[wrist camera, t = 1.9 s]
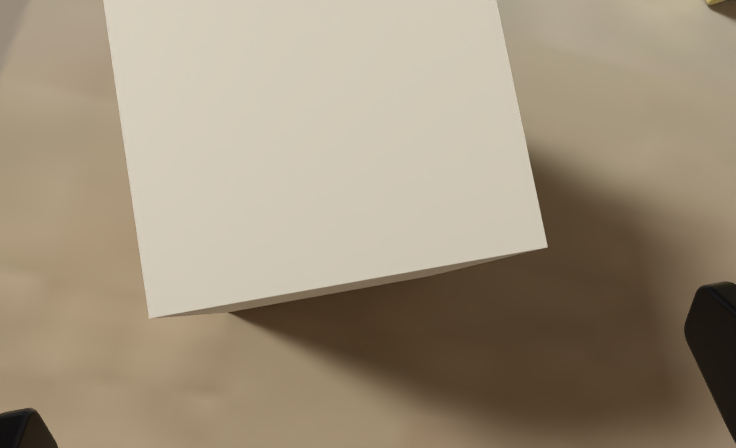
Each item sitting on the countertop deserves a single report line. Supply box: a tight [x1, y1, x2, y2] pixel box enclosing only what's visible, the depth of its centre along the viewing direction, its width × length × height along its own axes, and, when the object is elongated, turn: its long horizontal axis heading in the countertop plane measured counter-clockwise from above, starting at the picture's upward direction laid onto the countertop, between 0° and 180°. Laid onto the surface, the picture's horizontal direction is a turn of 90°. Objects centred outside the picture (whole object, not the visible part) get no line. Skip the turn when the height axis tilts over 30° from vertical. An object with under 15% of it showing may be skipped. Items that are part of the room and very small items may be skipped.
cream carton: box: [103, 0, 548, 318], centre depth 15 cm, size 6×6×10 cm
